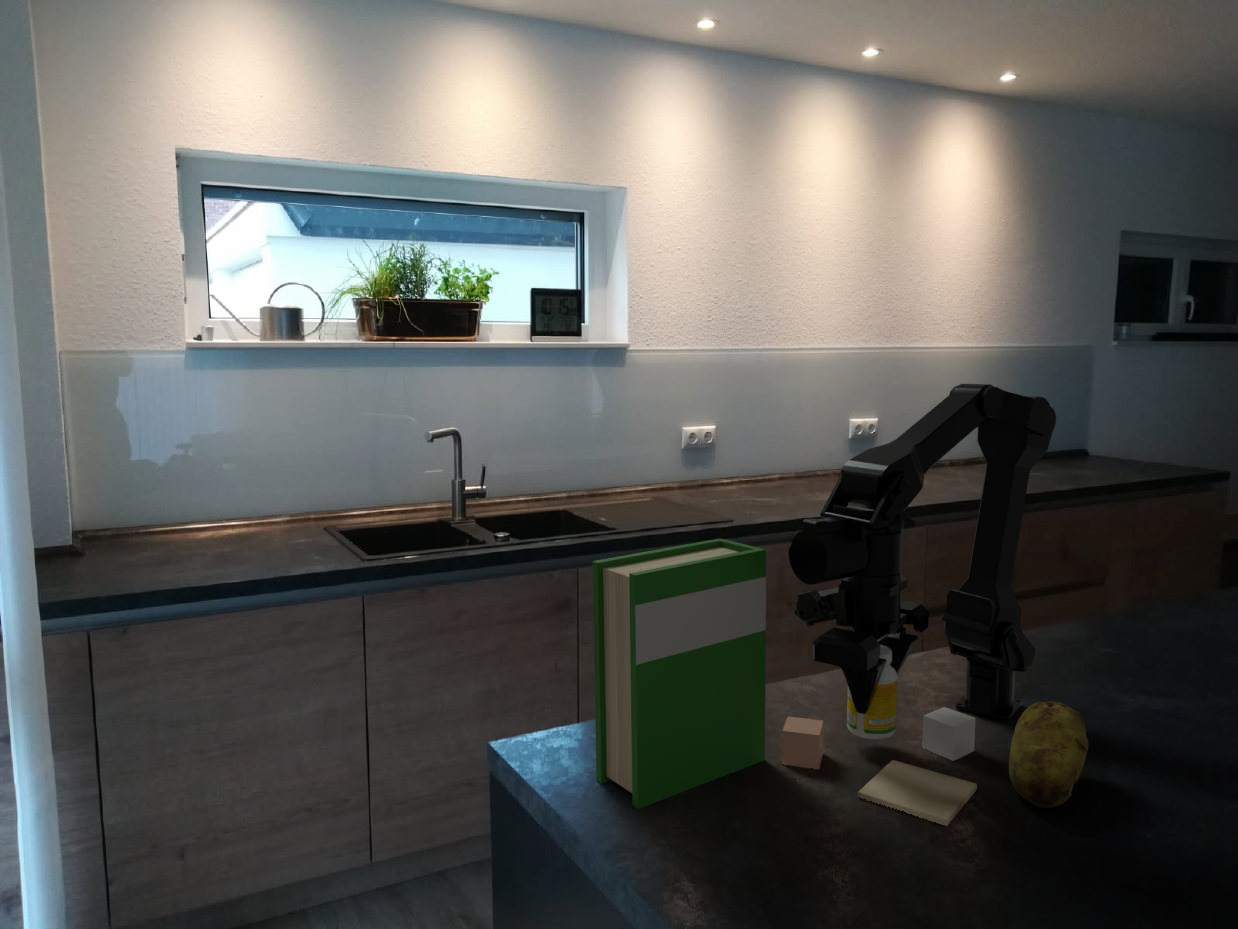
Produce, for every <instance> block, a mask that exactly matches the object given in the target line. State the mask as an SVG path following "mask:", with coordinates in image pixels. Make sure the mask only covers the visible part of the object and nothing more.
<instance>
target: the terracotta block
mask: <svg viewBox="0 0 1238 929" xmlns="http://www.w3.org/2000/svg"><path fill="white" fill-rule="evenodd" d="M781 731H782V732H781V733H782V734H781V735H782V736H781V738H782V740H781V742H782V743H781V747H782V748H781V765H782V764H784V765H783V766H789V765H790V766H789V767H799V768H804V767H805V769H811V768H813V769H812V770H820V767H821V763H822V758H823V756H824V720H820V719H813V718H812V719H811V718H805V717H793V716H787V717H786V720H785V723H784V726H783V728H782V730H781Z"/></svg>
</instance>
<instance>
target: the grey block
mask: <svg viewBox="0 0 1238 929" xmlns="http://www.w3.org/2000/svg"><path fill="white" fill-rule="evenodd" d="M975 732H976V717H974V716H970V715H969V714H965V713H962V712H960V711H956V710H954V709H951V708H949V707H945V706H943V707H940V708H938V709H935V710H933V711H931V712H928V713H927V714H924V715H923V716H922V740H921V742H922V744H921V748H923V750H925V749H927V750H929V751H928V752H930V751H931V752H930V753H932V752H933V753H932V754H935V753H936V754H935V755H937V754H938V756H940V757H942V756H943V758H945V759H947V760H950V761H953V762H955V761H956V760H959V759H961V758H963V757H965V756H967V755H969V754H971V753H973V752H975V734H976V733H975ZM927 750H926V751H927ZM954 760H955V761H954Z"/></svg>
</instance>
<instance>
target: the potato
mask: <svg viewBox="0 0 1238 929" xmlns="http://www.w3.org/2000/svg"><path fill="white" fill-rule="evenodd" d="M1088 750H1089V739H1088V737H1087V731H1086V722H1085V718H1084V717H1083V715H1082V714H1081V713H1080V712H1079V711H1078V710H1076V709H1075V708H1073V707H1071V706H1070V705H1068V704H1066V703H1065V704H1064V703H1062V702H1060V701H1053V700H1052V701H1051V700H1049V701H1048V700H1047V701H1046V700H1045V701H1037V702H1035V703H1033V704H1031V705H1029V706H1028V707H1027V708H1025V710H1024V711H1023V712H1022V714H1021V715H1020V717H1019V718H1018V720H1017V722H1016V725H1015V727H1014V732H1013V735H1012V738H1011V743H1010V751H1009V752H1010V753H1009V758H1008V772H1009V777H1010V781H1011V784H1012V786H1013V787H1014V789H1015V791H1016V792H1017V793H1018V794H1019V796H1021V797H1022V798H1023V799H1024V800H1026V801H1027V802H1028V803H1030V804H1032V805H1034V806H1036V807H1038V808H1040V809H1048V808H1049V809H1051V808H1056V807H1058V806H1061V805H1063V804H1064V803H1066V802H1067V801H1068V799H1070V798H1071V797H1072V794H1073V793H1072V791H1073V789H1074V787H1075V785H1076V784H1077V783H1078V782H1079V780H1080V778H1081V774H1082V773H1083V771H1084V769H1083V767H1084V765H1085V762H1086V760H1087V754H1088Z"/></svg>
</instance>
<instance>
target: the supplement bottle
mask: <svg viewBox="0 0 1238 929" xmlns="http://www.w3.org/2000/svg"><path fill="white" fill-rule="evenodd" d="M879 658H882V659H886V660H887V661H886V664H885V667H884V669H883V672H882V675H881V677H880V680H879V683H878V685H877V688H876V691H875V693H874V696H873V699H872V701H871V704H870V706H869V709H868V711H867V713H866V714H861V713H858V712H856V709H855V706H854V703H853V700H852V697H851V693H850V690H849V687H848V686H847V704H846V706H847V707H846V727H847V729H848V731H849V732H851V734H853V735H854V736H857V737H859V738H863V739H868V740H883V739H889V738H890V737H893V735H894V734H895V732H896V730H897V729H896V727H897V725H896V724H897V703H898V702H897V697H898V695H897V694H898V676H897V673H896V671H895V669H894V668H893V667H892V666H890V664H891V662H892V650H891V649H890V648H888V647H886V646H883V645H880V656H879Z"/></svg>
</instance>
